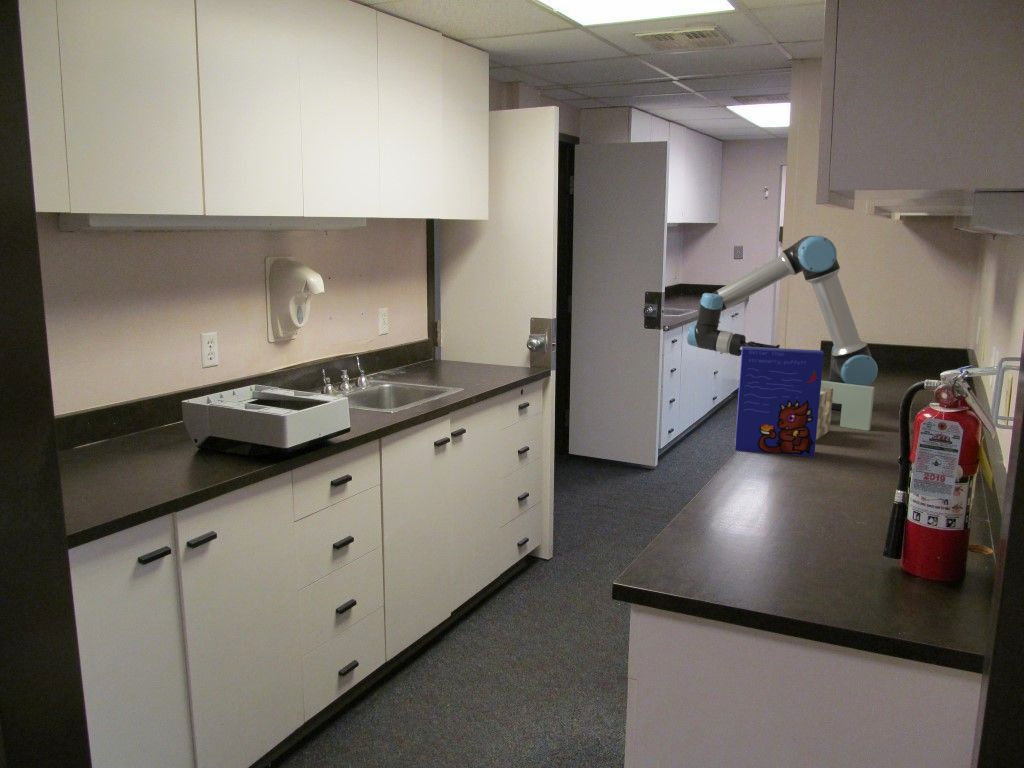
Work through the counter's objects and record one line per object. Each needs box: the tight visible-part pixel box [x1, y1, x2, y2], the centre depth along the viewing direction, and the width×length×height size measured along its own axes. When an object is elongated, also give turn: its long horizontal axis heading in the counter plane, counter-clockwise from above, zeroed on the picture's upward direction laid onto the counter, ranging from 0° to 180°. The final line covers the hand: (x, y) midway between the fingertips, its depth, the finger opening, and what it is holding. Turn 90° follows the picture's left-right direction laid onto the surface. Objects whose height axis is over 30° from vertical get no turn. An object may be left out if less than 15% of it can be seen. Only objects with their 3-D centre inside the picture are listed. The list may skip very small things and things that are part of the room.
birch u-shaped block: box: [816, 387, 833, 441], centre depth 255 cm, size 20×2×14 cm, turn 144°
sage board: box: [820, 380, 876, 431], centre depth 271 cm, size 22×2×14 cm, turn 54°
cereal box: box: [734, 346, 825, 458], centre depth 236 cm, size 22×6×30 cm, turn 76°
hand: (793, 356), depth 276 cm, fingers open, 13 cm apart
